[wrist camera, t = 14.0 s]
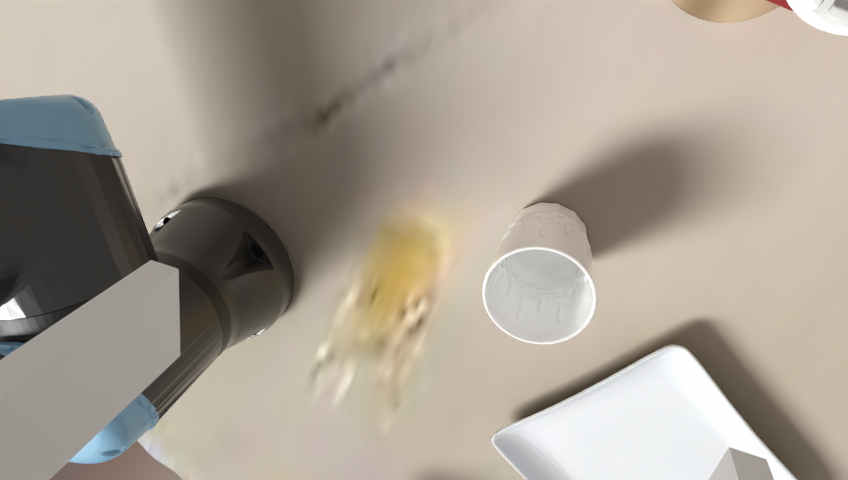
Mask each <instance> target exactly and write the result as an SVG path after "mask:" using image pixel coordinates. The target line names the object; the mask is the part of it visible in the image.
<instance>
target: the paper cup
mask: <svg viewBox="0 0 848 480" xmlns="http://www.w3.org/2000/svg"><path fill="white" fill-rule="evenodd" d="M767 1H769V2H771V3H774V4H776V5H779V6H781V7H784V8H786V9H789V10H791V11H794V12H795V13H796V14H797V15H798V16H799V17H800V18H801V19H802V20H804V21H805V22H806V23H808V24H809V25H811V26H813V27H815V28H817V29H819V30H822V31H825V32H829V33H832V34H838V35H846V36H848V0H767Z"/></svg>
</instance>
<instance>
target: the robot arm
mask: <svg viewBox="0 0 848 480" xmlns="http://www.w3.org/2000/svg"><path fill="white" fill-rule="evenodd" d="M121 157H122V154H121V152H120V151H119V150H118V149H116V147H115V145H114V143H113V141H112V139H111V136H110V134H109V132H108V129H107V127H106V125H105V123H104V120H103V118H102V116H101V114H100V112H99V111H98V109H97V108H96V107H95V106H94V105H93V104H92V103H90V102H89V101H87V100H86V99H84V98H81V97H78V96H74V95H54V96H41V97H28V98H16V99H3V100H0V480H49V479H50V478H51V477H52V476H54V475H55V474H56V473H57V472H58V471H59V470H60V469H61V468H62V467H63V466H64V465H65V464H66V463H67V462H68V461H70V462H75V463H85V464H90V463H100V462H104V461H108V460H111V459H113V458H115V457H117V456H119V455H120V454H122V453H123V452H124V451H126V450H127V449H128V448H129V447H130V446H131V445H132V444H133V443H134V442H135V441H136V440H138V439H139V438H140V437H141V436H142V435H143V434H144V433H145V432H147V431H149V430H151V429H152V428H154V427H155V425H156V424H157V423H158V420H159V419H160V418H161V417H162V416H163V415H164V414H165V413H166V412H167V411H168V410H169V409H170V407H171V406H172V405H173V404H174V403H175V402H176V401H177V400H178V399H179V398H180V397H181V396H182V395H183V394H184V392H185V391H186V390H187V389H188V388H189V387H190V386H191V385H192V384H193V383H194V382H195V381H196V380H197V378H198V377H199V376H200V375H201V374H202V373H203V372H204V371H205V370H206V369H207V368H208V367H209V366H210V364H211V363H212V362H213V361H214V360H215V359H216V358H217V357H218V356H219V355H220V354H221V353H222V352H223V351H224V350H225V349H227V348H229V347H231V346H233V345H235V344H237V343H239V342H241V341H243V340H245V339H249V338H252V337H254V336H257V335H259V334H261V333H262V332H264V331H265V330H267V329H268V328H269V327H271V326H272V325H273V324H274V322H275V321H276V320H277V319H278V318H279V317H280V316H281V315H282V314H283V312H284V311H285V310H286V308H287V306H288V304H289V302H290V300H291V296H292V292H293V273H292V268H291V264H290V261H289V258H288V256H287V253H286V251H285V249H284V247H283V245H282V244H281V242H280V240H279V239H278V238H277V236H276V235H275V234H274V232H273V231H272V230H271V229H270V228H269V227H268V226H267V225H266V224H265V223H264V222H263V221H262V220H261V219H260V218H259V217H257V216H256V215H255V214H253V213H252V212H250V211H249V210H247V209H245V208H243V207H241V206H239V205H237V204H235V203H232V202H229V201H226V200H222V199H216V198H200V199H195V200H191V201H188V202H186V203H184V204H182V205H180V206H179V207H177V208H175V209H174V210H172V211H170V212H169V213H167V214H166V215H165V216H164V217H162V218H161V219H160V220H159V222H158V223H157V224H156V225H155V227H154V228H153V230H152V231H151V233H150V234H148V231H147V229H146V226H145V223H144V220H143V218H142V215H141V212H140V210H139V207H138V204H137V201H136V199H135V196H134V193H133V191H132V188H131V185H130V182H129V180H128V177H127V174H126V172H125V169H124V166H123V163H122V161H121ZM709 480H774V478H773V476H772V473H771V470H770V467H769V465H768V462H767V459H764V458H761V457H758V456H755V455H752V454H749V453H746V452H743V451H740V450H737V449H734V448H730V447H729V448H728V450H727V451H726V453H725V454H724V456H723V457H722V459H721V461H720V462H719V464H718V465H717V467H716V469H715V470H714V472H713V473H712V475H711V476H710V478H709Z"/></svg>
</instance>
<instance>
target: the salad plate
mask: <svg viewBox="0 0 848 480" xmlns="http://www.w3.org/2000/svg"><path fill="white" fill-rule="evenodd" d="M491 441H492V444H493V445H494V446H495V448H496V449H497V450H498V451H499V452H500V453H501V455H502V456H503V457H504V458H505V459H506V460H507V461H508V462H509V463H510V464H511V465H512V466H513V467H514V468H515V469H516V470H517V472H518V473H519V474H520V475H521V476H522V477H523V478H524V479H525V480H709V478H710V476H711V475H712V473H713V472H714V470H715V469H716V467H717V465H718V464H719V462H720V461H721V459H722V457H723V456H724V454H725V453H726V451H727V450H728V448H729V447H730V448H734V449H737V450H740V451H743V452H746V453H749V454H752V455H755V456H758V457H761V458H764V459H767V462H768V465H769V467H770V470H771V473H772V476H773V478H774V480H798V479H797V478H796V477H795V476H794V475H793V474H792V473H791V472H790V471H789V470H788V469H787V467H786V466H785V465H784V464H783V463H782V462H781V461H780V460H779V459H778V458H777V457H776V456H775V455H774V453H773V452H772V451H771V450H770V449H769V448H768V447H767V446H766V444H765V443H764V442H763V441H762V440H761V439H760V438H759V437H758V435H757V434H756V433H755V432H754V431H753V430H752V428H751V427H750V426H749V425H748V424H747V422H746V421H745V420H744V419H743V417H742V416H741V415H740V414H739V413H738V411H737V410H736V409H735V408H734V406H733V405H732V404H731V403H730V401H729V400H728V399H727V397H726V396H725V395H724V393H723V392H722V391H721V389H720V388H719V387H718V385H717V384H716V383H715V381H714V380H713V379H712V377H711V376H710V375H709V374H708V372H707V371H706V370H705V368H704V367H703V366H702V365H701V363H700V362H699V361H698V360H697V358H696V357H695V356H694V355H693V354H692V353H691V352H690V351H689V350H688V349H687V348H685V347H683V346H681V345H667V346H664V347H662V348H660V349H658V350H656V351H654V352H653V353H651V354H649V355H647V356H645V357H643V358H641V359H640V360H638V361H636V362H634V363H633V364H631V365H629V366H627V367H625V368H624V369H622V370H620V371H618V372H617V373H615V374H613V375H611V376H609V377H608V378H606V379H604V380H602V381H600V382H598V383H596V384H594V385H592V386H591V387H589V388H587V389H585V390H583V391H581V392H579V393H577V394H575V395H573V396H571V397H569V398H567V399H565V400H563V401H561V402H559V403H557V404H555V405H553V406H551V407H549V408H546V409H544V410H542V411H540V412H538V413H535V414H533V415H531V416H528V417H526V418H524V419H521V420H519V421H517V422H514V423H512V424H510V425H508V426H506V427H504V428H502V429H500V430H499V431H497V432H496V433H495V434H494V435H493V436H492V438H491Z"/></svg>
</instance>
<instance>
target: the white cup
mask: <svg viewBox="0 0 848 480" xmlns="http://www.w3.org/2000/svg"><path fill="white" fill-rule="evenodd" d="M482 294H483V301H484V305H485V308H486V310H487V312H488V314H489V316H490V317H491V319H492V320H493V322H494V323H495V324H496V325H497V326H498V327H499V328H500V329H501V330H503V331H504V332H505V333H507V334H509V335H510V336H512V337H514V338H516V339H519V340H521V341H524V342H528V343H534V344H553V343H558V342H562V341H565V340H568V339H570V338H572V337H574V336H575V335H577V334H578V333H580V332H581V331H582V330H583V329H584V328H585V327H586V326H587V325H588V324H589V322H590V321H591V319H592V317H593V315H594V313H595V310H596V305H597V291H596V283H595V275H594V267H593V259H592V253H591V247H590V244H589V242H588V237H587V231H586V226H585V224H584V223H583V222H582V221H581V219H580V218H579V217H578V216H577V214H576V213H575V212H574V211H572V210H570V209H568V208H566V207H564V206H562V205H560V204H558V203H537V204H535V205H532V206H529V207H527V208H524V209H522V210H521V211H520V213H519V214H518V215H517V216H516V217H515V218H514V219H513V220H512V221H511V223H510V225H509V228H508V230H507V231H506V233H505V235H504V236H503V238H502V240H501V243H500V244H499V246H498V249H497V251H496V253H495V256H494V258H493V260H492V263H491V265H490V267H489V269H488V272H487V274H486V276H485V279H484V283H483V289H482Z"/></svg>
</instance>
